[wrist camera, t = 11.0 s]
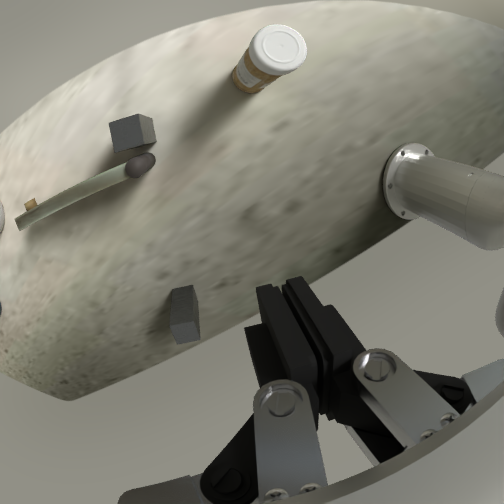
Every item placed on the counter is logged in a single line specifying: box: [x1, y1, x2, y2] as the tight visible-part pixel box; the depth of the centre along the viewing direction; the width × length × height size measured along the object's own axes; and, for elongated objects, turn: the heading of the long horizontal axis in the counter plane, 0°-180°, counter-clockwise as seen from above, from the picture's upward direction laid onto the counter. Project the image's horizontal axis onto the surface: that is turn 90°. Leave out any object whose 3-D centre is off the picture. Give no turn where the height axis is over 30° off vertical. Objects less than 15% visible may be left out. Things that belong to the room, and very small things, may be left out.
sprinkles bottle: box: [232, 24, 307, 93], centre depth 24 cm, size 5×5×14 cm
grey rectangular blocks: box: [109, 114, 200, 344], centre depth 31 cm, size 3×26×8 cm, turn 9°
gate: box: [15, 153, 156, 231], centre depth 27 cm, size 3×18×8 cm, turn 105°
